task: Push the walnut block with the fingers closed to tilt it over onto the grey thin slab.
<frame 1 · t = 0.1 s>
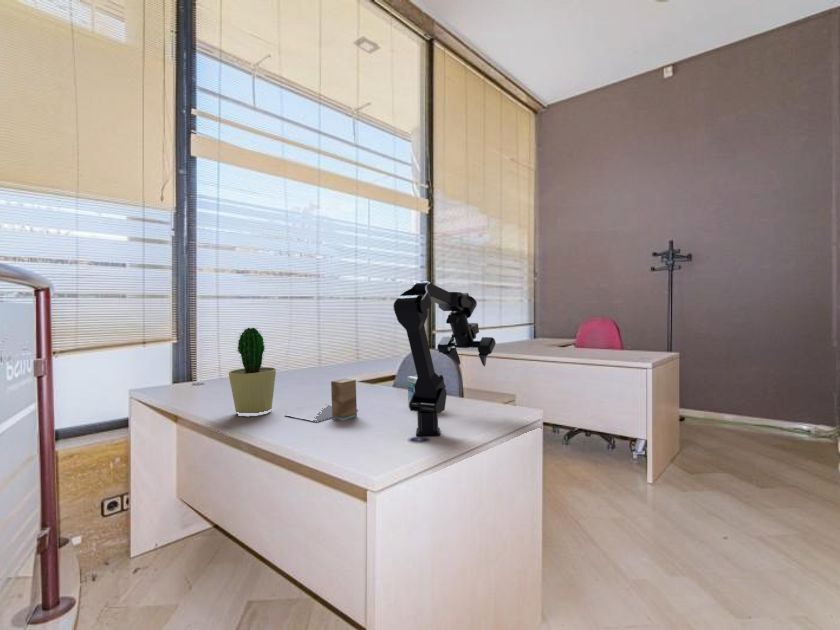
hand: (471, 364, 151), 15 cm above the table, tool tilted 35°, fingers open, 9 cm apart
grey thin slab: (321, 413, 150), on the table
potted cactus: (254, 413, 154), on the table
light bulb box: (423, 408, 154), on the table
walnut block: (344, 417, 144), on the table
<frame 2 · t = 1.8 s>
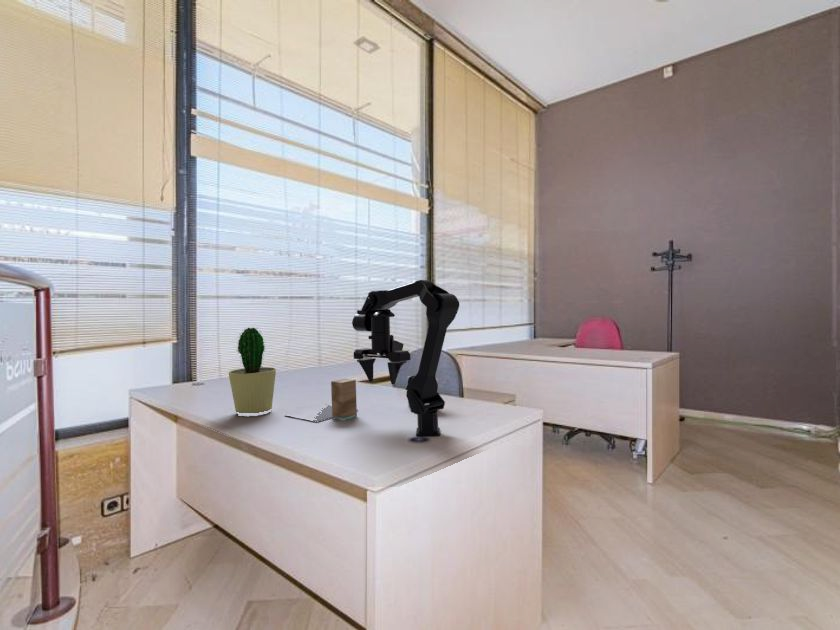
hand: (382, 383, 136), 12 cm above the table, tool pointing down, fingers open, 9 cm apart
nothing on the table moved.
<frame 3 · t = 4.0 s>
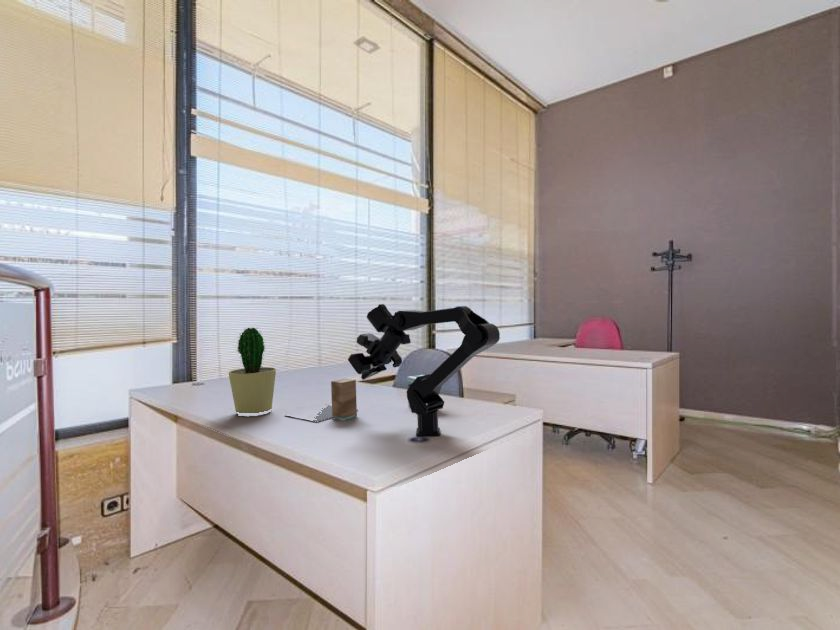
hand: (362, 378, 138), 13 cm above the table, tool tilted 45°, fingers closed
nothing on the table moved.
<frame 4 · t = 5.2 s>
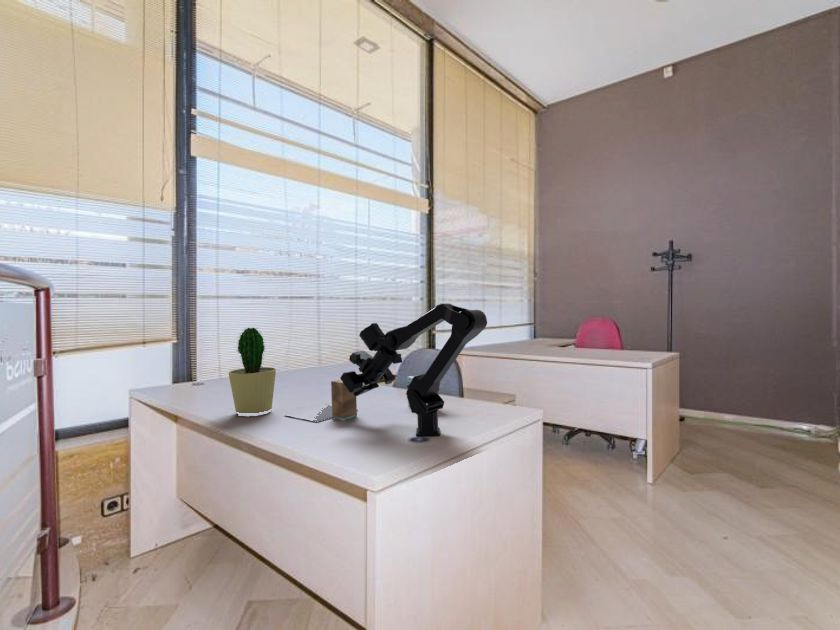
hand: (355, 395, 140), 8 cm above the table, tool tilted 45°, fingers closed
nothing on the table moved.
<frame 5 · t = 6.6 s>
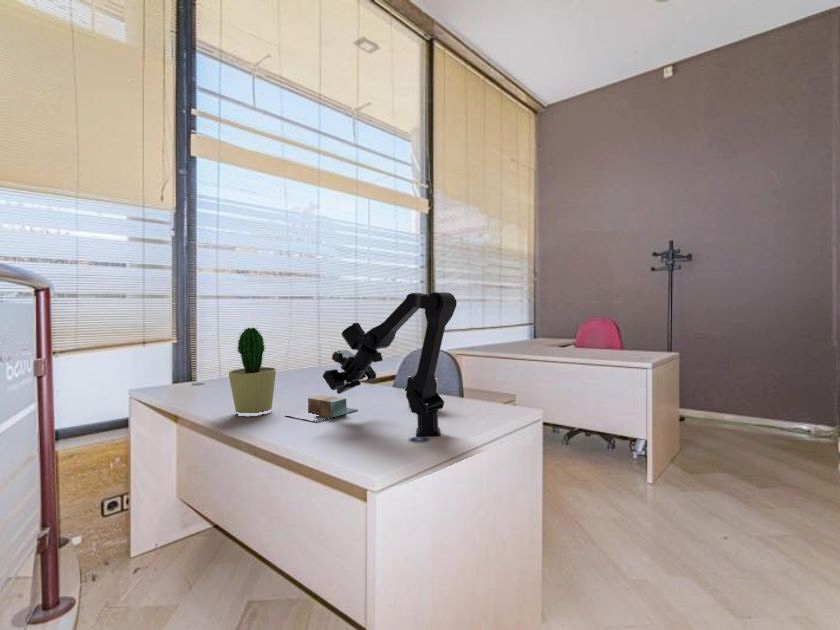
hand: (338, 392, 145), 8 cm above the table, tool tilted 45°, fingers closed
walnut block: (339, 407, 145), point 3 cm above the table, tilted 90°, touching grey thin slab
everything else where it was.
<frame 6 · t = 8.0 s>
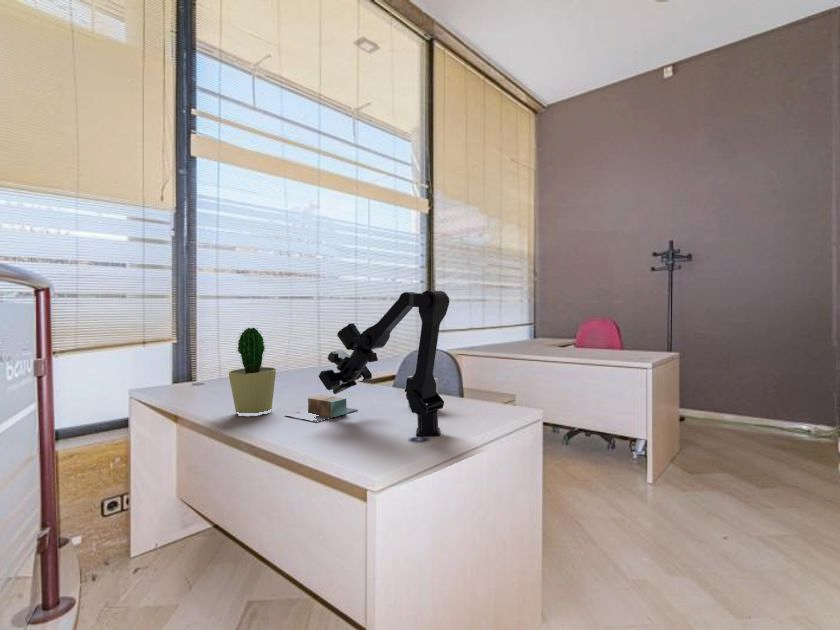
hand: (334, 392, 146), 8 cm above the table, tool tilted 45°, fingers closed
nothing on the table moved.
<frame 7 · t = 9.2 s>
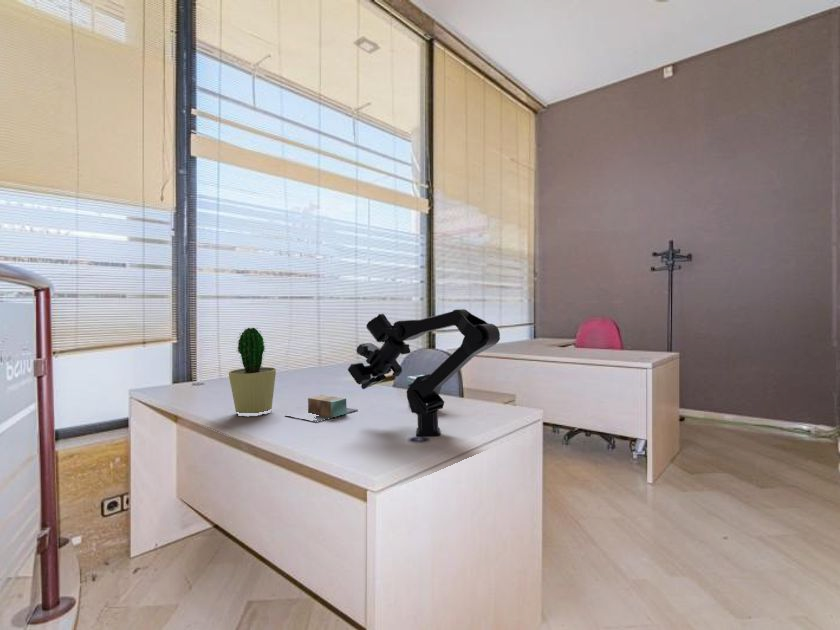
hand: (362, 388, 138), 10 cm above the table, tool tilted 45°, fingers closed
nothing on the table moved.
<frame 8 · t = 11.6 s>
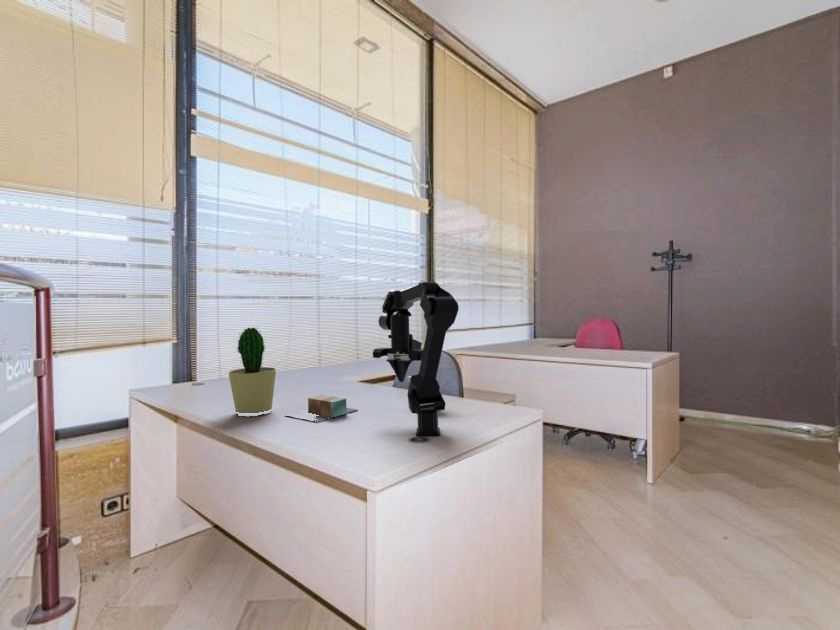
hand: (401, 381, 138), 12 cm above the table, tool pointing down, fingers closed
nothing on the table moved.
at the end: walnut block tilted 90°; walnut block 8.8 cm from the grey thin slab (horizontally); walnut block point 2.9 cm above the table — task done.
